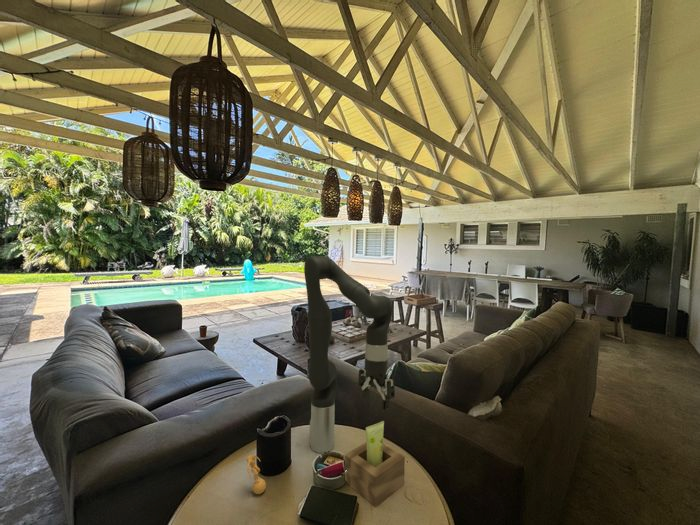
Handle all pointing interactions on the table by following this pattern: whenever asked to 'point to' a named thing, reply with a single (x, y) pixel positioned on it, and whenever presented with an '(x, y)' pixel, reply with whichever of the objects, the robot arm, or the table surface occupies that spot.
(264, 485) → the figurine
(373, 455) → the tube
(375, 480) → the box
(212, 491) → the table surface
